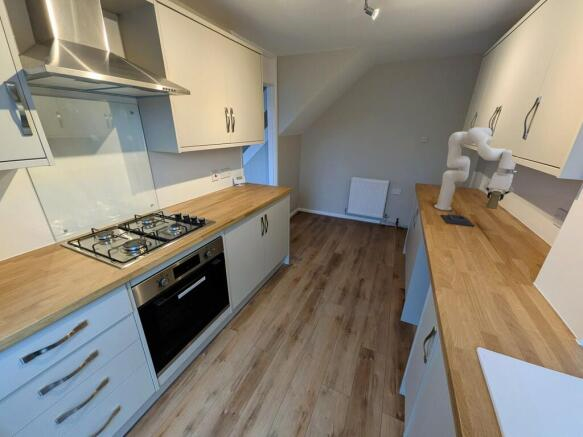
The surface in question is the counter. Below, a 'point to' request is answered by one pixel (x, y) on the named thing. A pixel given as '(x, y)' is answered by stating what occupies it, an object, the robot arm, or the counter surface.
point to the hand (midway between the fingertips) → (494, 199)
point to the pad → (457, 220)
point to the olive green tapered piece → (493, 200)
